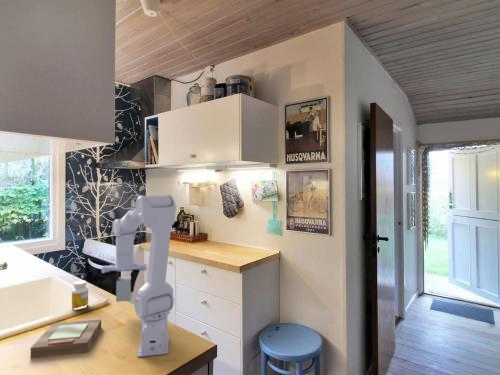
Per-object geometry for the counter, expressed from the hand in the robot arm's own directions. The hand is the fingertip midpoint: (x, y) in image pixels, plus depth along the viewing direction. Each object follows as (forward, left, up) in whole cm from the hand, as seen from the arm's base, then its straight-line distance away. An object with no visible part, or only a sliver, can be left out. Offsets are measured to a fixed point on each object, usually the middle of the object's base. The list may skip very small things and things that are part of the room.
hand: (124, 291), depth 103 cm
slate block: (0, 0, -2) cm, 2 cm away
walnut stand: (-13, +13, -9) cm, 21 cm away
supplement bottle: (+12, +18, -10) cm, 24 cm away
